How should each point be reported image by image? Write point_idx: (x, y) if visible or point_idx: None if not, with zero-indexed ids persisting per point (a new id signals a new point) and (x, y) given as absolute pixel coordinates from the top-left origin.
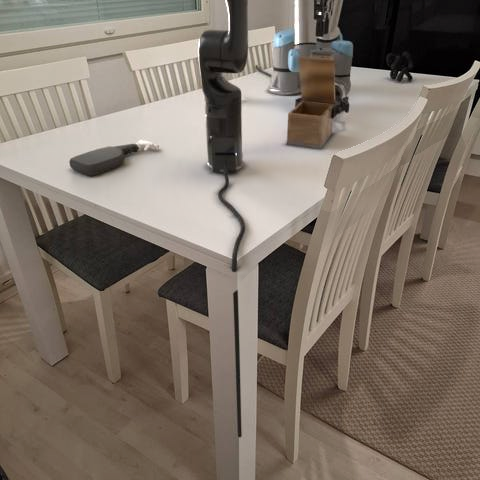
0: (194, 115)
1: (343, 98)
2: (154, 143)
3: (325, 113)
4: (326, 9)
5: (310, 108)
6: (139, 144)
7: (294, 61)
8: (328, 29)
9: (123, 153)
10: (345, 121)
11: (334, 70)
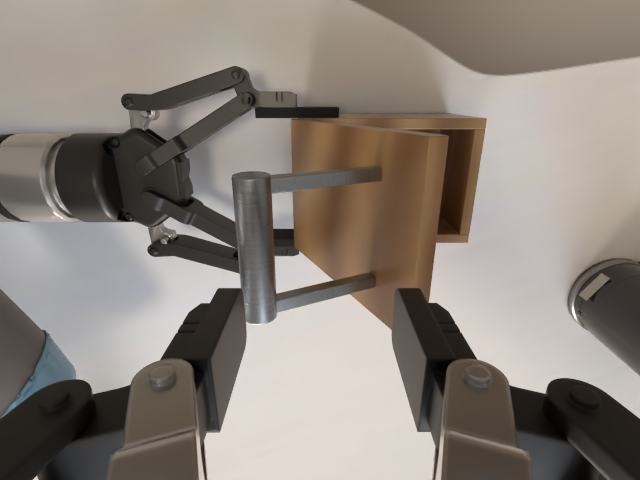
0: (290, 473)
1: (148, 113)
2: None
3: (440, 120)
4: (524, 477)
5: None
6: None
7: None
8: (223, 301)
9: (602, 477)
10: None
11: (379, 129)
